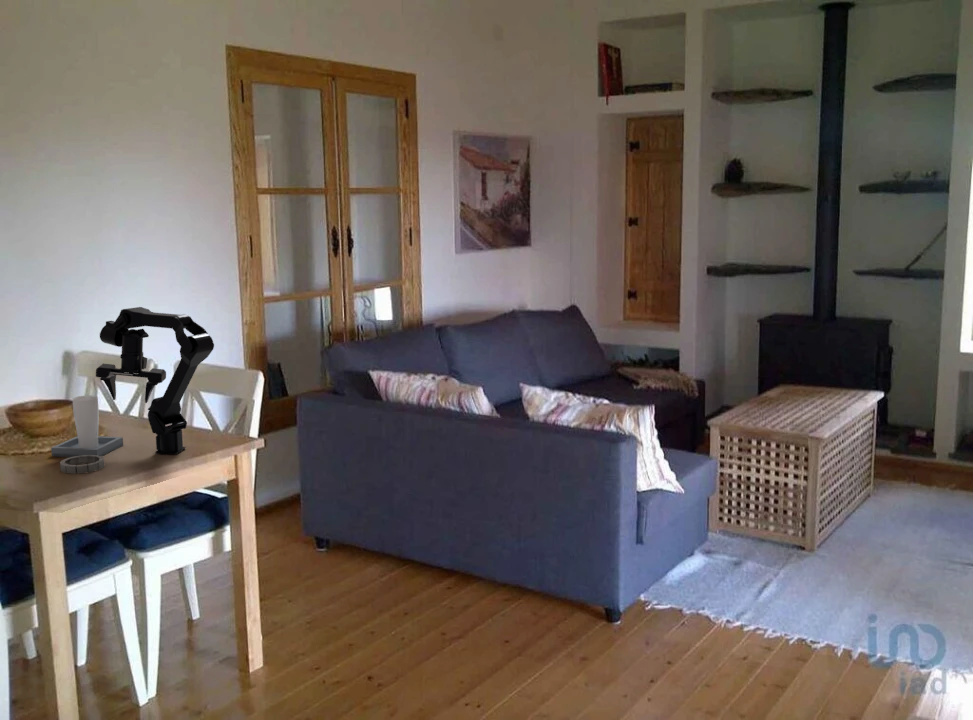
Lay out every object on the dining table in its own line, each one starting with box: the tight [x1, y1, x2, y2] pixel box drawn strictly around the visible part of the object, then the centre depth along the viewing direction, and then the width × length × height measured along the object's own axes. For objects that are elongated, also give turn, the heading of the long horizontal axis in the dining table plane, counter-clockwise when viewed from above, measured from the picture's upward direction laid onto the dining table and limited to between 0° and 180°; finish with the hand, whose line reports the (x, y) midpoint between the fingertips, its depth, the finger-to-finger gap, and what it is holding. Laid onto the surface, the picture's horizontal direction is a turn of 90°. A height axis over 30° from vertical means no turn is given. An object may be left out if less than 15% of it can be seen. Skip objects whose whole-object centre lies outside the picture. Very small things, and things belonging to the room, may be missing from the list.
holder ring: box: [59, 455, 105, 475], centre depth 259 cm, size 11×11×2 cm
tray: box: [50, 435, 124, 458], centre depth 275 cm, size 14×14×2 cm
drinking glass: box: [72, 394, 100, 448], centre depth 274 cm, size 7×7×15 cm
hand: (130, 401), depth 279 cm, fingers open, 9 cm apart
